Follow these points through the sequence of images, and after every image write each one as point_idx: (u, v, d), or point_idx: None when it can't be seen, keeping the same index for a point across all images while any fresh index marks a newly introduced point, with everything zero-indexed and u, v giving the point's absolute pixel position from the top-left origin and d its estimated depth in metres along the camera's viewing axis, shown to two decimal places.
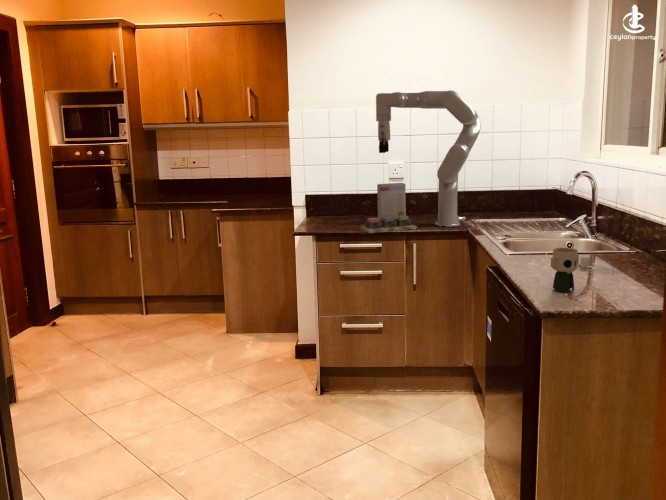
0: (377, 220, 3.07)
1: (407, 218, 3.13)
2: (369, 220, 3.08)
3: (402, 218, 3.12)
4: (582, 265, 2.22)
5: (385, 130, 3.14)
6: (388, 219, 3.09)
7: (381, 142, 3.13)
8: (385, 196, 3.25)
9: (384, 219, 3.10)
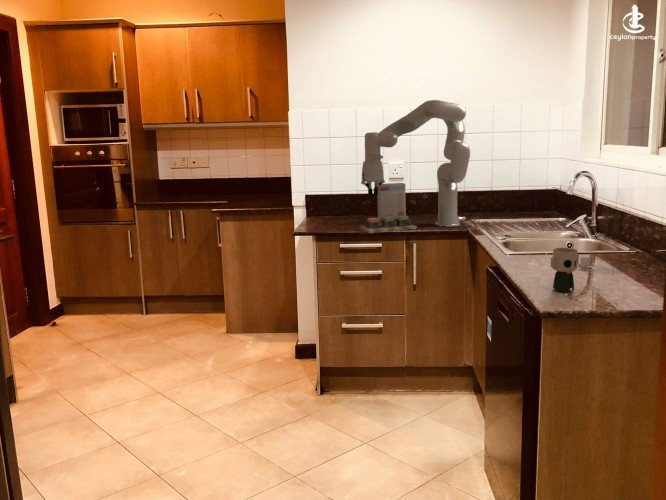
0: (377, 220, 3.07)
1: (407, 218, 3.13)
2: (369, 220, 3.08)
3: (402, 218, 3.12)
4: (582, 265, 2.22)
5: None
6: (388, 219, 3.09)
7: None
8: (385, 196, 3.25)
9: (384, 219, 3.10)
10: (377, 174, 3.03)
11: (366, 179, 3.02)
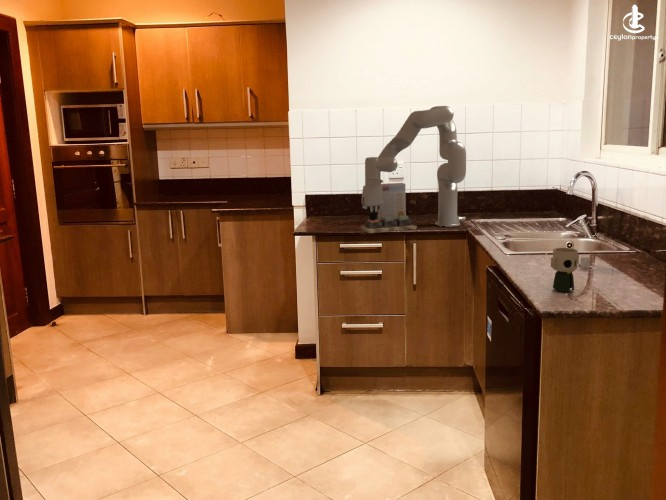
0: (377, 221, 3.08)
1: (407, 218, 3.13)
2: (369, 221, 3.08)
3: (402, 218, 3.12)
4: (582, 265, 2.22)
5: None
6: (388, 219, 3.09)
7: None
8: (385, 196, 3.25)
9: (384, 219, 3.10)
10: (377, 198, 3.05)
11: (366, 203, 3.04)
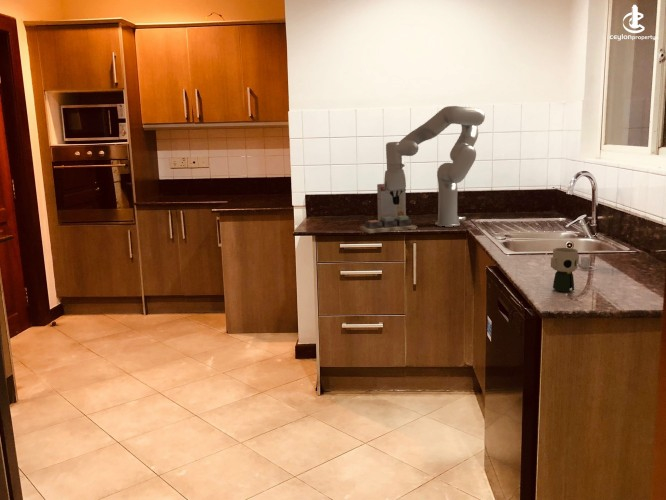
0: None
1: (407, 218, 3.13)
2: None
3: (402, 218, 3.12)
4: (582, 265, 2.22)
5: None
6: (388, 219, 3.09)
7: None
8: (385, 196, 3.25)
9: (384, 219, 3.10)
10: (400, 182, 3.08)
11: (389, 188, 3.07)
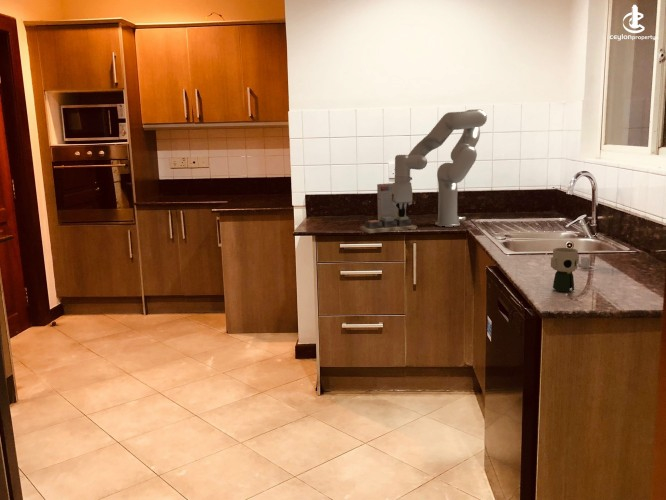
0: None
1: (407, 218, 3.13)
2: None
3: (402, 218, 3.12)
4: (583, 265, 2.22)
5: None
6: (388, 219, 3.09)
7: None
8: (385, 196, 3.25)
9: (384, 219, 3.10)
10: (407, 195, 3.10)
11: (395, 200, 3.09)
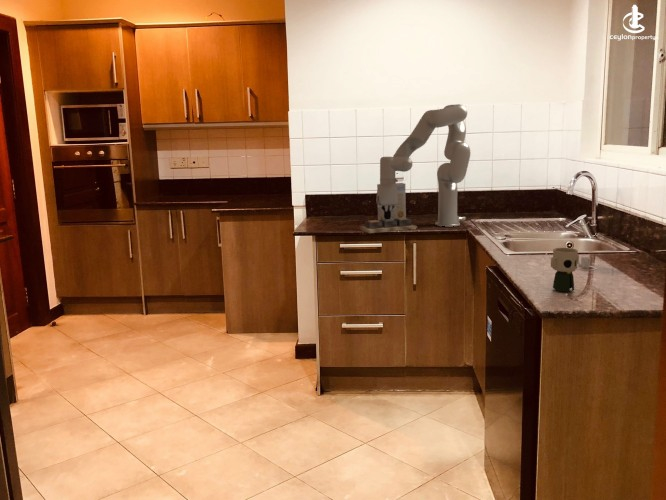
0: None
1: None
2: None
3: None
4: (583, 265, 2.22)
5: None
6: None
7: None
8: None
9: None
10: (392, 197, 3.08)
11: (381, 202, 3.07)
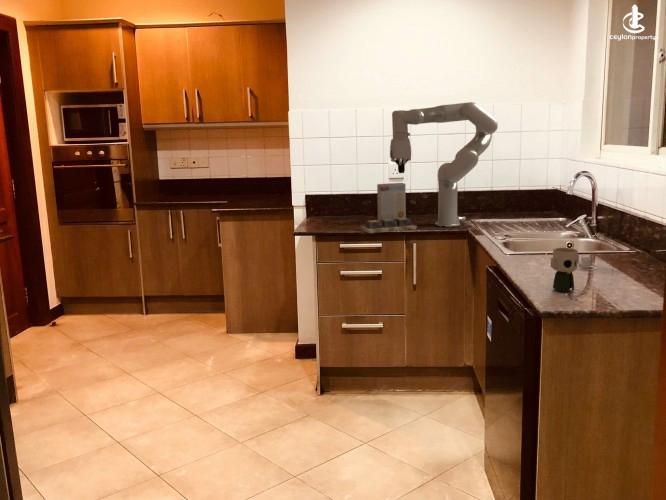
0: None
1: None
2: None
3: None
4: (583, 265, 2.23)
5: None
6: None
7: None
8: (385, 196, 3.25)
9: None
10: (405, 150, 3.11)
11: (395, 156, 3.09)
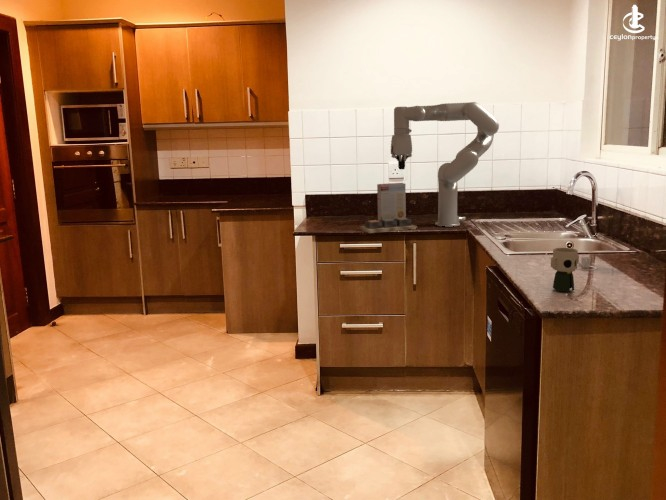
0: None
1: None
2: None
3: None
4: (583, 265, 2.23)
5: None
6: None
7: None
8: (385, 196, 3.25)
9: None
10: (406, 147, 3.11)
11: (395, 152, 3.10)
